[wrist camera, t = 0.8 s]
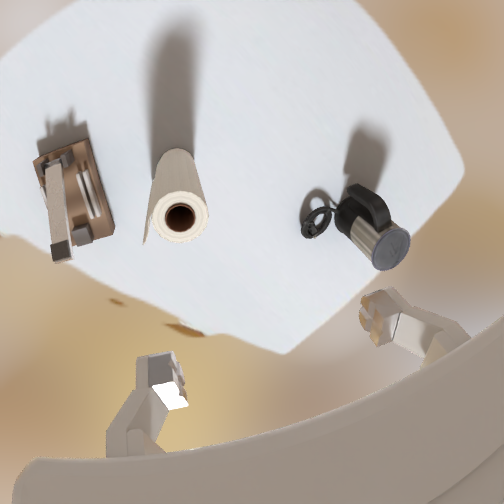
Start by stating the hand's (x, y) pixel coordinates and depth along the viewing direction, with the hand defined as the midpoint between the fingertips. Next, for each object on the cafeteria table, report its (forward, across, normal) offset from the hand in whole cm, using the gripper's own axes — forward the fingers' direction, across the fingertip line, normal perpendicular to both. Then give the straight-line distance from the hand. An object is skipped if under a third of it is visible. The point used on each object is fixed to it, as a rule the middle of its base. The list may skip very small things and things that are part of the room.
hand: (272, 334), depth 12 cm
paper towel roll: (+42, +4, +3) cm, 43 cm away
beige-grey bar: (+33, +22, +2) cm, 40 cm away
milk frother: (+43, -26, +20) cm, 54 cm away
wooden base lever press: (+42, +22, +3) cm, 48 cm away
